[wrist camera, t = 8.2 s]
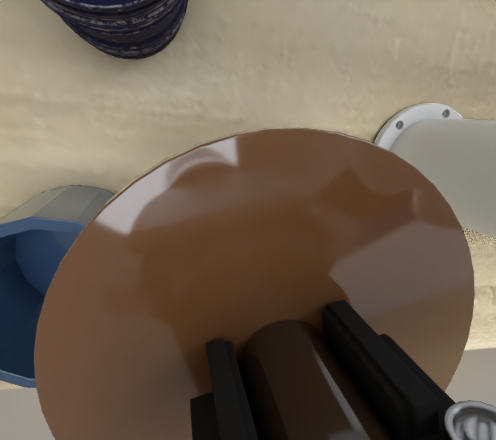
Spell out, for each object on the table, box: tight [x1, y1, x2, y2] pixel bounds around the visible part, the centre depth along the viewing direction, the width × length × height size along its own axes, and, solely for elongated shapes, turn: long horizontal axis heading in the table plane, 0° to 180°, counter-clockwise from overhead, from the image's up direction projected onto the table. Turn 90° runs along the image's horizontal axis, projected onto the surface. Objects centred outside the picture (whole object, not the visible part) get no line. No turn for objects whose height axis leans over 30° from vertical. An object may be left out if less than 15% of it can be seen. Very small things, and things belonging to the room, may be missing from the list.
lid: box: [34, 127, 475, 440], centre depth 9 cm, size 14×14×6 cm
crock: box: [0, 185, 115, 388], centre depth 28 cm, size 13×13×10 cm
